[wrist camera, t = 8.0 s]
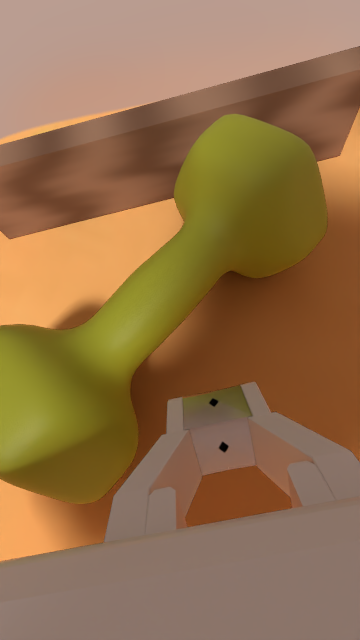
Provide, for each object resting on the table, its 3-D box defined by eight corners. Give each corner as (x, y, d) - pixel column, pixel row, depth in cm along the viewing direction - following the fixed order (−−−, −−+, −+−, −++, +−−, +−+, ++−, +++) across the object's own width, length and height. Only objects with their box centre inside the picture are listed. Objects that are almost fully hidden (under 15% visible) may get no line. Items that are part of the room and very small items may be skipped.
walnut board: (328, 137, 20) (359, 46, 15) (339, 155, 19) (376, 64, 14) (11, 218, 21) (-48, 157, 16) (9, 238, 20) (-54, 180, 16)
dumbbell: (212, 205, 19) (206, 81, 12) (318, 264, 16) (385, 142, 9) (23, 389, 16) (-123, 352, 9) (113, 506, 13) (-6, 578, 6)
